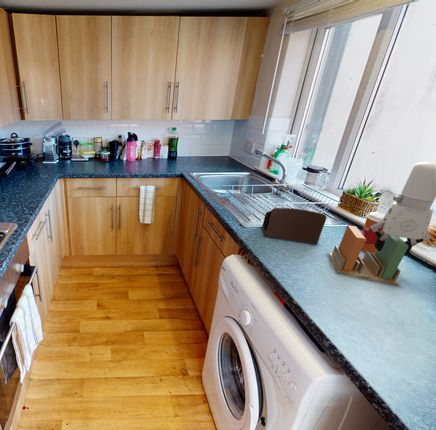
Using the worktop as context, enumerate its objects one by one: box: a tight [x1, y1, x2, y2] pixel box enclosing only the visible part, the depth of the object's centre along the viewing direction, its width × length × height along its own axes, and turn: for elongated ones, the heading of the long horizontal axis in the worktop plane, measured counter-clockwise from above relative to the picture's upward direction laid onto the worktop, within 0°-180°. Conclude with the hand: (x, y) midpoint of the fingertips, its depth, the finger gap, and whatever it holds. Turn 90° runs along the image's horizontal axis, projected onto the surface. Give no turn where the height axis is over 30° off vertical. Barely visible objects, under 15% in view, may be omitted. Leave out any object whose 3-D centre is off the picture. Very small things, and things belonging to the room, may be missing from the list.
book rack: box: [328, 245, 402, 287], centre depth 101 cm, size 17×13×5 cm
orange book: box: [338, 224, 366, 271], centre depth 101 cm, size 3×10×13 cm, turn 157°
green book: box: [374, 235, 409, 279], centre depth 98 cm, size 3×10×13 cm, turn 157°
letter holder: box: [261, 207, 327, 246], centre depth 122 cm, size 10×20×14 cm, turn 71°
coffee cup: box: [361, 211, 386, 254], centre depth 112 cm, size 8×8×15 cm
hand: (390, 251), depth 97 cm, fingers open, 6 cm apart
